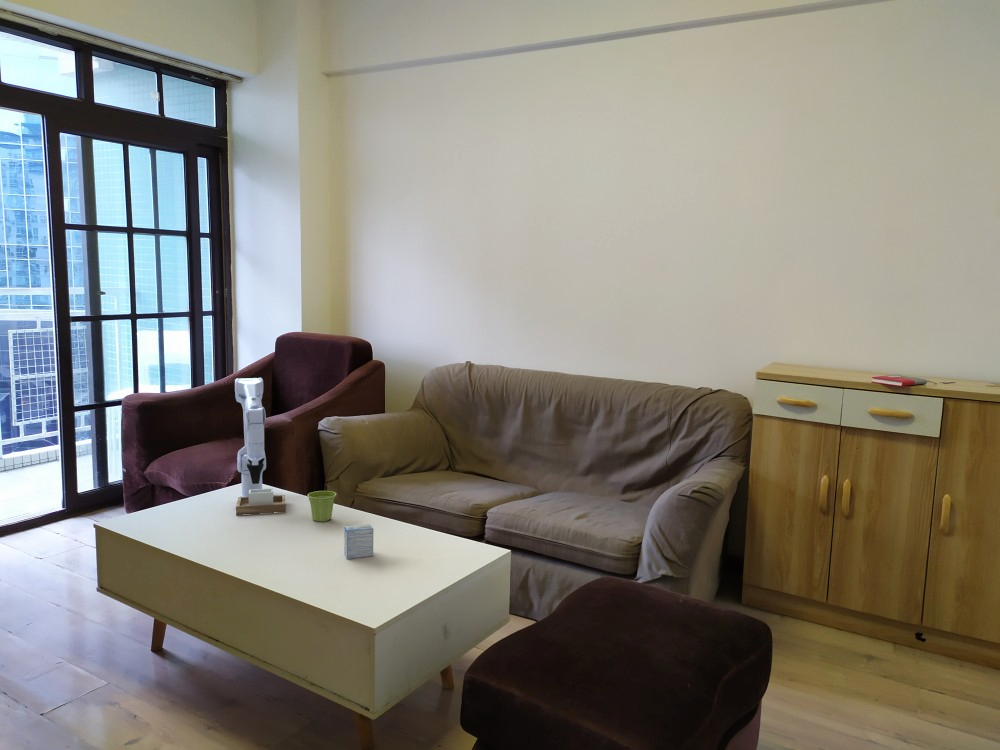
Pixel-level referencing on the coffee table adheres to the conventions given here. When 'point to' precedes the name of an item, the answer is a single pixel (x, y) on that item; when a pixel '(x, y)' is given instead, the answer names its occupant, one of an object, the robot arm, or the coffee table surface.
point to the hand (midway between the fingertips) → (256, 480)
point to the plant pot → (321, 504)
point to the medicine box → (358, 541)
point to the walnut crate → (260, 506)
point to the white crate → (260, 496)
